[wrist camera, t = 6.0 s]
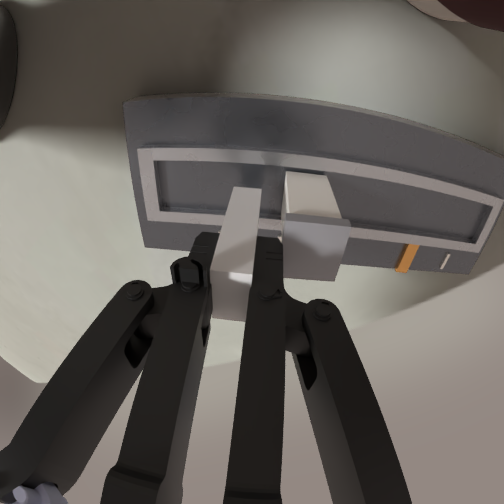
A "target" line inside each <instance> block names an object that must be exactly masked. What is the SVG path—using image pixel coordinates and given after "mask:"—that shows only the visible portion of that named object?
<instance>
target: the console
mask: <svg viewBox="0 0 504 504" xmlns="http://www.w3.org/2000/svg"><path fill="white" fill-rule="evenodd" d="M123 111H124V122H125V132H126V141H127V149H128V157H129V164H130V171H131V177H132V183H133V189H134V195H135V201H136V206H137V212H138V217H139V222H140V227H141V232H142V236H143V241H144V245H145V247H147V248H159V249H170V250H181V251H191V248H192V247H193V243H194V240H195V238H196V237H197V236H198V235H199V234H200V233H201V232H213V233H220V232H221V228H222V225H223V221H224V218H225V214H226V211H227V208H228V204H229V201H230V198H231V194H232V191H233V188H234V187H246V188H257V189H262V191H261V202H260V213H259V224H258V234H257V236H263V237H273V238H279V240H280V241H282V230H281V209H282V201H283V193H284V184H285V176H286V171H290V172H300V173H308V174H317V175H325V176H327V178H328V181H329V183H330V186H331V189H332V191H333V194H334V197H335V200H336V203H337V205H338V208H339V211H340V214H341V217H342V219H349V221H350V224H351V227H352V228H351V231H350V234H349V238H348V241H347V244H346V247H345V251H344V254H343V257H342V260H341V263H340V264H346V265H358V266H371V267H383V268H395V271H396V272H403V273H407V271H408V269H409V270H421V271H434V272H448V273H461V274H469V272H470V271H471V269H472V267H473V266H474V264H475V262H476V260H477V259H478V257H479V255H480V253H481V251H482V250H483V248H484V246H485V244H486V242H487V240H488V238H489V236H490V234H491V232H492V230H493V228H494V226H495V224H496V222H497V220H498V218H499V215H500V213H501V211H502V209H503V206H504V156H502V155H500V154H498V153H496V152H494V151H492V150H489V149H487V148H485V147H483V146H480V145H478V144H476V143H473V142H471V141H468V140H466V139H463V138H461V137H458V136H456V135H453V134H450V133H448V132H445V131H442V130H439V129H436V128H433V127H430V126H427V125H424V124H421V123H417V122H414V121H411V120H407V119H404V118H400V117H396V116H393V115H389V114H385V113H381V112H377V111H372V110H368V109H363V108H359V107H354V106H349V105H343V104H338V103H332V102H326V101H319V100H312V99H305V98H297V97H288V96H278V95H265V94H250V93H175V94H159V95H147V96H137V97H134V98H132V99H129V100H127V101H125V102H123Z"/></svg>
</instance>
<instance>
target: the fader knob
mask: <svg viewBox="0 0 504 504" xmlns="http://www.w3.org/2000/svg"><path fill="white" fill-rule="evenodd" d="M351 228H352V227H351V224H350V221H349V219H342V217H341V214H340V211H339V208H338V205H337V203H336V200H335V197H334V194H333V191H332V189H331V186H330V183H329V181H328V178H327V176H325V175H317V174H308V173H300V172H290V171H286V176H285V184H284V193H283V201H282V209H281V230H282V241H281V243H282V244H283V278H293V279H306V280H320V281H335V278H336V275H337V272H338V269H339V266H340V263H341V260H342V257H343V254H344V251H345V247H346V244H347V241H348V238H349V234H350V231H351Z"/></svg>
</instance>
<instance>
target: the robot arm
mask: <svg viewBox="0 0 504 504" xmlns="http://www.w3.org/2000/svg"><path fill="white" fill-rule="evenodd" d="M16 69H17V39H16V32H15V27H14V23H13V20H12V18H11V16H10V14H9V12H8V11H7V10H6V9H5V8H4V7H3V6H1V5H0V128H1V127H2V125H3V123H4V120H5V118H6V116H7V113H8V110H9V107H10V103H11V100H12V95H13V90H14V85H15V78H16ZM261 191H262V189H257V188H246V187H234V188H233V191H232V194H231V198H230V201H229V204H228V208H227V211H226V214H225V218H224V221H223V225H222V228H221V232H220V233H213V232H201V233H200V234H199V235H198V236H197V237H196V238H195V240H194V243H193V247H192V248H191V251H190V253H189V256H188V257H183V258H180V259H178V260H176V261H174V262H173V263H172V265H171V266H170V269H171V275H172V281H173V284H171V285H169V286H165V287H158V288H151V286H150V285H149V284H148V283H147V282H145V281H141V280H134V281H130V282H128V283H126V284H125V285H124V286H123V287H121V289H120V290H119V291H118V292H117V293H116V295H115V296H114V297H113V298H112V299H111V301H110V302H109V303H108V304H107V305H106V307H105V308H104V309H103V310H102V312H101V313H100V314H99V315H98V317H97V318H96V319H95V320H94V322H93V323H92V324H91V325H90V327H89V328H88V329H87V331H86V332H85V333H84V334H83V336H82V337H81V338H80V340H79V341H78V342H77V344H76V345H75V346H74V348H73V349H72V350H71V352H70V353H69V354H68V356H67V357H66V358H65V360H64V361H63V363H62V364H61V365H60V367H59V368H58V370H57V371H56V372H55V374H54V375H53V377H52V378H51V379H50V381H49V382H48V384H47V385H46V387H45V388H44V390H43V391H42V393H41V394H40V396H39V397H38V399H37V400H36V402H35V403H34V405H33V406H32V408H31V410H30V411H29V413H28V414H27V416H26V417H25V419H24V421H23V423H22V424H21V426H20V427H19V429H18V431H17V432H16V434H15V436H14V437H13V439H12V441H11V443H10V444H9V445H8V446H7V447H5V448H4V449H3V450H1V451H0V502H1V503H4V504H68V502H67V500H66V499H65V498H64V497H63V495H64V494H65V493H66V492H67V491H68V490H70V488H71V487H72V486H73V485H74V484H75V483H76V481H77V479H78V478H79V477H80V475H81V473H82V471H83V470H84V468H85V466H86V464H87V463H88V461H89V459H90V458H91V456H92V454H93V452H94V450H95V448H96V447H97V445H98V443H99V442H100V440H101V438H102V436H103V435H104V433H105V431H106V430H107V428H108V426H109V425H110V423H111V421H112V419H113V418H114V416H115V414H116V413H117V411H118V409H119V407H120V406H121V404H122V403H123V401H124V399H125V397H126V396H127V394H128V393H129V391H130V389H131V388H132V386H133V384H134V383H135V381H136V380H137V378H138V376H139V375H140V373H141V371H142V370H143V372H142V375H141V378H140V381H139V385H138V388H137V391H136V395H135V398H134V402H133V405H132V409H131V413H130V416H129V420H128V423H127V427H126V431H125V435H124V439H123V443H122V446H121V450H120V455H119V458H118V461H117V463H116V465H115V466H114V467H112V468H111V469H110V470H109V472H108V474H107V476H106V479H105V483H104V487H103V492H102V497H101V502H100V504H181V503H182V496H183V487H182V480H183V474H184V468H185V461H186V456H187V450H188V444H189V439H190V433H191V427H192V421H193V416H194V411H195V406H196V400H197V395H198V390H199V384H200V379H201V374H202V369H203V364H204V359H205V354H206V349H207V344H208V339H209V334H210V329H211V328H210V319H211V315H212V318H217V319H225V320H234V321H243V322H245V331H244V339H243V347H242V356H241V364H240V372H239V381H238V389H237V397H236V406H235V414H234V422H233V430H232V439H231V447H230V455H229V463H228V471H227V479H226V487H225V494H224V500H223V504H282V499H281V494H280V483H281V465H282V447H283V424H284V393H285V391H284V390H285V350H286V351H289V352H292V356H293V359H294V363H295V367H296V370H297V374H298V377H299V381H300V384H301V388H302V392H303V395H304V399H305V402H306V406H307V409H308V413H309V417H310V420H311V424H312V427H313V431H314V435H315V438H316V442H317V445H318V449H319V453H320V457H321V460H322V464H323V468H324V471H325V475H326V479H327V483H328V486H329V490H330V493H331V498H332V501H333V504H412V502H411V498H410V495H409V492H408V488H407V485H406V482H405V479H404V476H403V472H402V469H401V467H400V463H399V460H398V457H397V454H396V452H395V449H394V446H393V443H392V440H391V437H390V435H389V432H388V429H387V426H386V423H385V421H384V418H383V415H382V413H381V410H380V407H379V405H378V402H377V399H376V397H375V394H374V392H373V389H372V387H371V384H370V382H369V379H368V377H367V374H366V372H365V369H364V367H363V364H362V362H361V360H360V357H359V355H358V352H357V350H356V348H355V346H354V343H353V341H352V339H351V336H350V334H349V331H348V329H347V327H346V325H345V322H344V320H343V318H342V316H341V313H340V311H339V309H338V308H337V307H336V305H334V304H333V303H332V302H330V301H328V300H325V299H315V300H311V301H310V302H309V303H307V304H306V303H303V302H300V301H298V300H295V299H293V298H292V297H291V296H289V295H288V294H287V292H286V291H285V289H284V284H283V244H282V243H281V241H280V240H279V238H273V237H263V236H257V234H258V224H259V213H260V202H261Z"/></svg>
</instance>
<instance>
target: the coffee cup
mask: <svg viewBox="0 0 504 504" xmlns="http://www.w3.org/2000/svg"><path fill="white" fill-rule="evenodd" d="M407 1H408V2H409V3H410V4H412V5H413V6H414V7H416V8H417V9H419V10H420V11H422V12H424V13H426V14H428V15H430V16H433V17H436V18H438V19H442V20H447V21H459V22H469V23H471V24H474V25H476V26H479V27H483V28H487V29H493V30H498V31H502V32H504V0H407Z"/></svg>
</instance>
